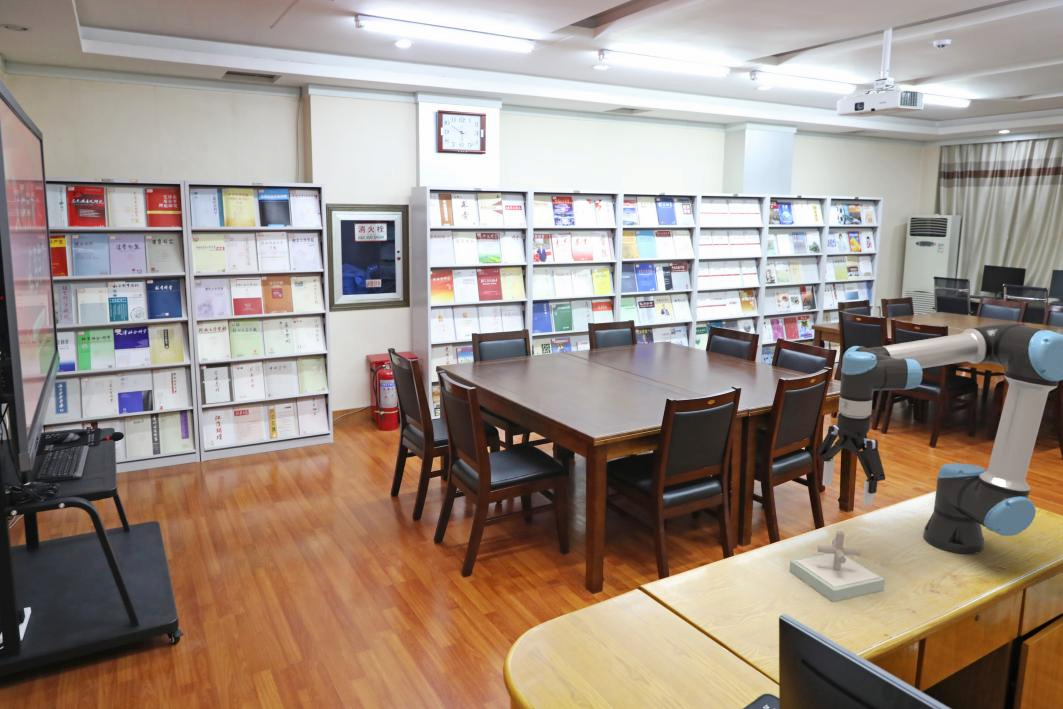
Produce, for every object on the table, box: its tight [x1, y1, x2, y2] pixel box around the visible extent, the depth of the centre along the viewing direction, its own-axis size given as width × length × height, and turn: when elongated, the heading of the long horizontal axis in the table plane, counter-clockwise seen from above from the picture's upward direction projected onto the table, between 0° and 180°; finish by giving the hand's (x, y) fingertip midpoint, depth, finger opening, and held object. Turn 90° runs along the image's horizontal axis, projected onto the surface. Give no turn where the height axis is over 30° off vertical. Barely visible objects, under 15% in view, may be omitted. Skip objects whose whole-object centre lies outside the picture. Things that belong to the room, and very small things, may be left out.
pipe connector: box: [817, 530, 861, 571], centre depth 190 cm, size 10×10×10 cm
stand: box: [788, 553, 886, 603], centre depth 191 cm, size 16×16×3 cm
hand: (846, 494), depth 189 cm, fingers open, 13 cm apart
